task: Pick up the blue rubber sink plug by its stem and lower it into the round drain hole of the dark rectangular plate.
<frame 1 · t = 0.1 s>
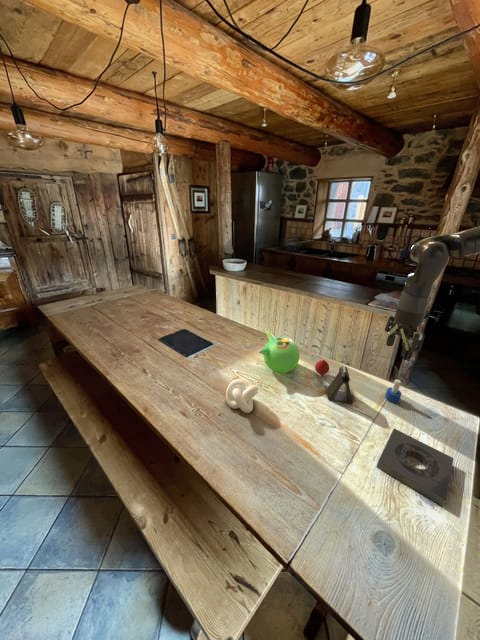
hand: (397, 352, 88), 24 cm above the table, tool pointing down, fingers open, 8 cm apart
phone stand: (339, 396, 104), on the table
dark rectangular plate: (413, 465, 78), on the table
toy bird: (278, 367, 120), on the table
cream knot sculpture: (240, 404, 99), on the table
sink plug: (391, 398, 103), on the table
onion: (320, 374, 116), on the table
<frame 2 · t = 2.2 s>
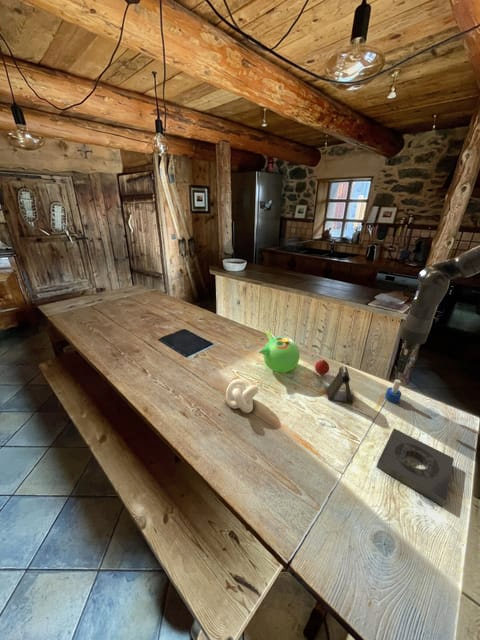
hand: (402, 367, 96), 15 cm above the table, tool pointing down, fingers open, 8 cm apart
nothing on the table moved.
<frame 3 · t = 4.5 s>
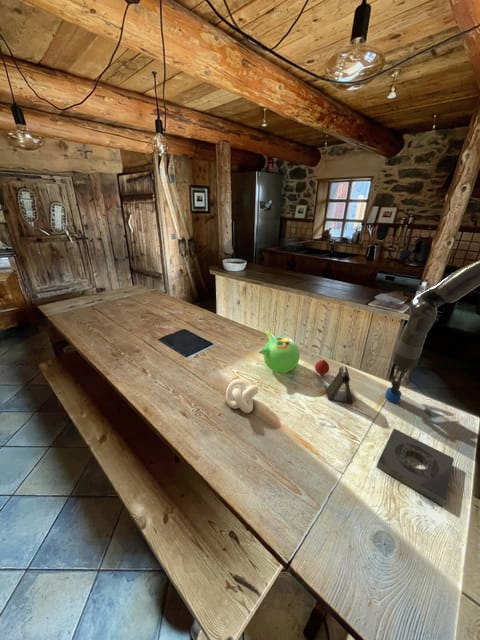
hand: (394, 390, 101), 4 cm above the table, tool pointing down, fingers closed on sink plug
sink plug: (392, 398, 103), on the table, touching gripper
everything else where it was.
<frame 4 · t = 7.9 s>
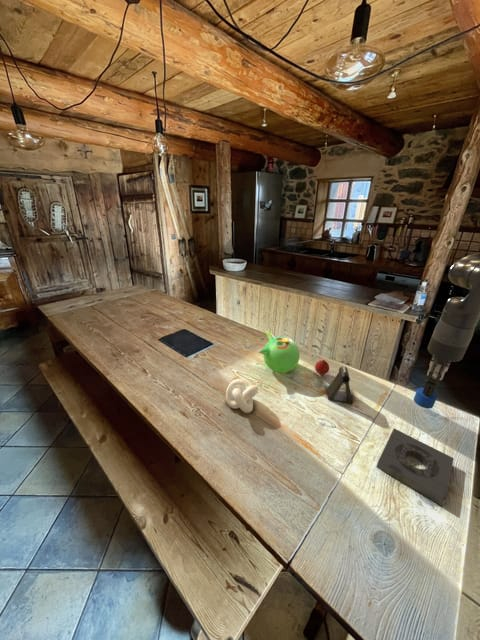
hand: (427, 392, 74), 21 cm above the table, tool pointing down, fingers closed on sink plug
sink plug: (423, 402, 76), point 18 cm above the table, touching gripper
everything else where it was.
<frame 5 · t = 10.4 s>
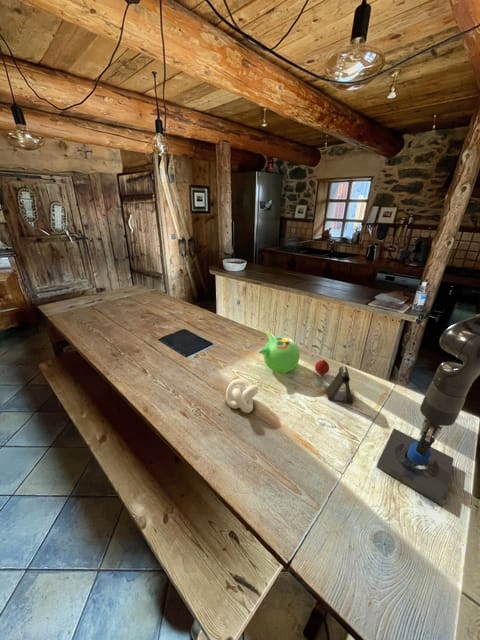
hand: (421, 448, 74), 7 cm above the table, tool pointing down, fingers closed on sink plug
sink plug: (416, 457, 76), point 3 cm above the table, touching gripper
everything else where it was.
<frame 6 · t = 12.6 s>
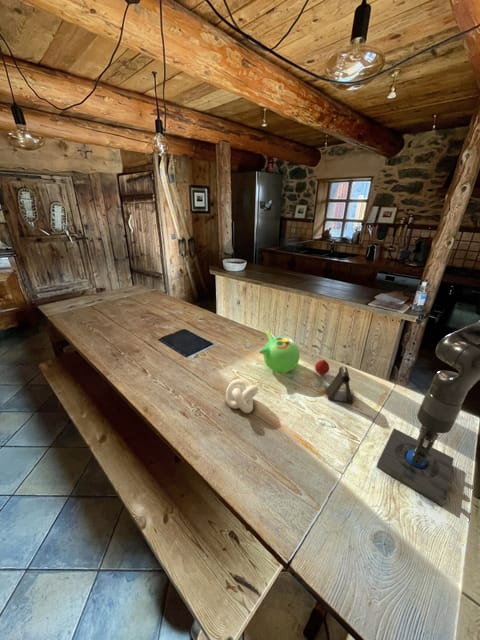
hand: (419, 452, 75), 5 cm above the table, tool pointing down, fingers open, 8 cm apart
sink plug: (413, 465, 78), resting in dark rectangular plate
everything else where it was.
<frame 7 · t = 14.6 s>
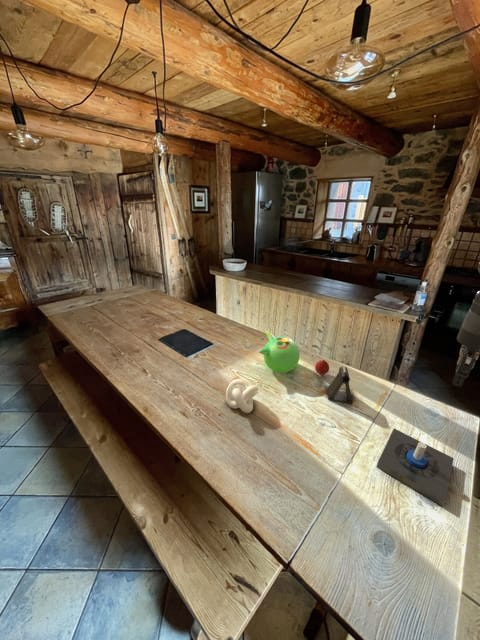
hand: (458, 377, 77), 23 cm above the table, tool pointing down, fingers open, 8 cm apart
nothing on the table moved.
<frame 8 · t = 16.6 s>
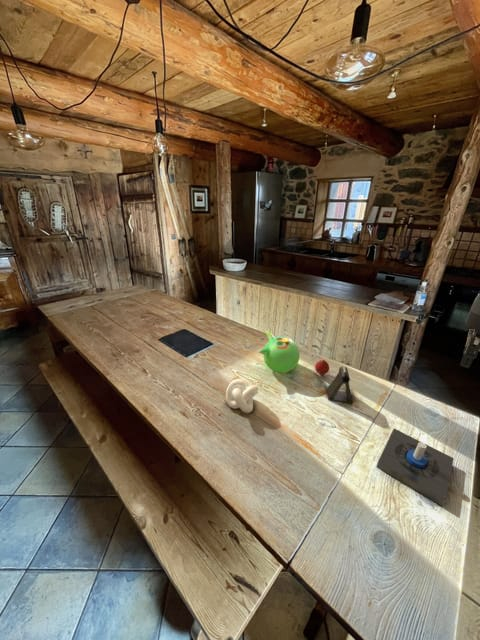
hand: (465, 360, 81), 26 cm above the table, tool pointing down, fingers open, 8 cm apart
nothing on the table moved.
at the end: sink plug 0.1 cm off-centre in the dark rectangular plate, point 0.0 cm above the dark rectangular plate's base; sink plug tilted 0°; the gripper is holding nothing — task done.
